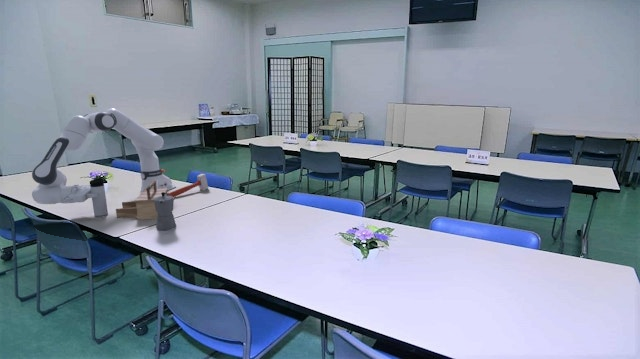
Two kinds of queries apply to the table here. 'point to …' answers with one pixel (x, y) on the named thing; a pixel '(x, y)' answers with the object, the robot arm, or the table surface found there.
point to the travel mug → (99, 198)
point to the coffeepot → (164, 212)
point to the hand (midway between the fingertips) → (100, 192)
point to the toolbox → (142, 204)
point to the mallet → (192, 186)
